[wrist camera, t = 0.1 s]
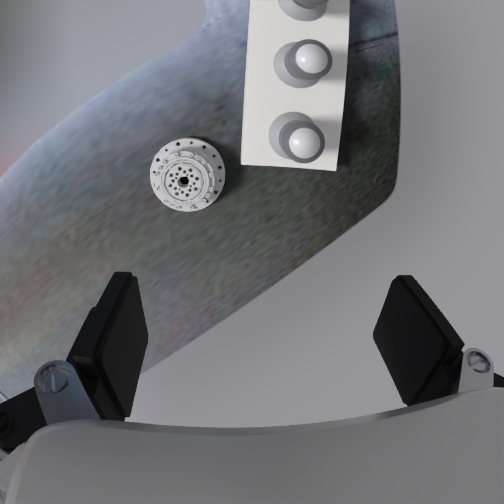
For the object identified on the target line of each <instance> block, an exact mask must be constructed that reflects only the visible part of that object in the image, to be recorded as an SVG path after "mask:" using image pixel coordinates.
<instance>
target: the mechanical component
mask: <svg viewBox="0 0 504 504" xmlns="http://www.w3.org/2000/svg"><path fill="white" fill-rule="evenodd" d="M177 142H179V143H180V145H178V143H177ZM191 142H193V144H192V143H191ZM204 145H205V146H206V148H204V147H203V146H204ZM167 149H168V150H167ZM213 155H215V156H213ZM158 158H159V159H160V160H158ZM218 166H221V167H222V168H219V167H218ZM180 167H181V168H180ZM190 168H191V169H192V170H191V169H190ZM155 171H156V172H155ZM185 176H186V177H188V179H185V178H184V177H185ZM196 177H199V178H196ZM180 178H182V179H183V180H184V182H186V181H189V183H188V184H186V185H183V184H184V182H180ZM220 179H221V180H220ZM150 180H151V185H152V187H153V190H154V192H155V194H156V195H157V197H158V198H159V199H160V200H161V201H162V202H163V203H164V204H166V205H167V206H169V207H170V208H173V209H176V210H179V211H186V212H189V211H197V210H200V209H203V208H205V207H207V206H208V205H210V204H211V203H212V202H214V201H215V200H216V198H217V197H218V196H219V194H220V193H221V191H222V188H223V185H224V182H225V167H224V163H223V160H222V158H221V156H220V154H219V153H218V151H217V150H216V149H215V148H214V147H213V146H212V145H210V144H209V143H207V142H205V141H203V140H201V139H196V138H190V137H189V138H180V139H177V140H174V141H172V142H170V143H168V144H167V145H165V146H164V147H163V148H161V150H160V151H159V152H158V154H157V155H156V156H155V157H154V160H153V163H152V166H151V169H150ZM182 183H183V184H182ZM215 191H217V192H215Z"/></svg>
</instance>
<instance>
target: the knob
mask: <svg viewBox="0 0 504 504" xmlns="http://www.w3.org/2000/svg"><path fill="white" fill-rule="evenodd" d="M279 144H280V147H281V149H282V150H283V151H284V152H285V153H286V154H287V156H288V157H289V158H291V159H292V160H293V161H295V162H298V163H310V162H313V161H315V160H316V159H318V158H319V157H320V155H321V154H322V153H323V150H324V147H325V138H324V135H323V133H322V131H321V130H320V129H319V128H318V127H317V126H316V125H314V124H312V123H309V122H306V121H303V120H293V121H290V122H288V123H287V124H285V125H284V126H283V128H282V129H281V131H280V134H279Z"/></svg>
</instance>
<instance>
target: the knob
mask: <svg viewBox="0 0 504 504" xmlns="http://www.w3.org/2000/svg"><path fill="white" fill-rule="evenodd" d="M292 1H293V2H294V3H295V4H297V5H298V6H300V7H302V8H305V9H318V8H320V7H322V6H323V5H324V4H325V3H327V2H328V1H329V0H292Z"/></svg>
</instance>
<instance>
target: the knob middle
mask: <svg viewBox="0 0 504 504" xmlns="http://www.w3.org/2000/svg"><path fill="white" fill-rule="evenodd" d="M284 62H285V67H286V69H287V71H288V72H289V73H290V74H291V75H292V76H293V77H295V78H297V79H299V80H304V81H308V80H313V79H318V78H321V77H323V76H325V75H326V74H327V73H328V72H329V71H330V69H331V67H332V55H331V53H330V51H329V49H328V48H327V47H326V46H325V45H324V44H323V43H321V42H319V41H317V40H313V39H305V40H301V41H299V42H297V43H296V44H295V45H294V46H292V47H291V48H290V49H289V50H288V51H287V53H286V55H285V59H284Z"/></svg>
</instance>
